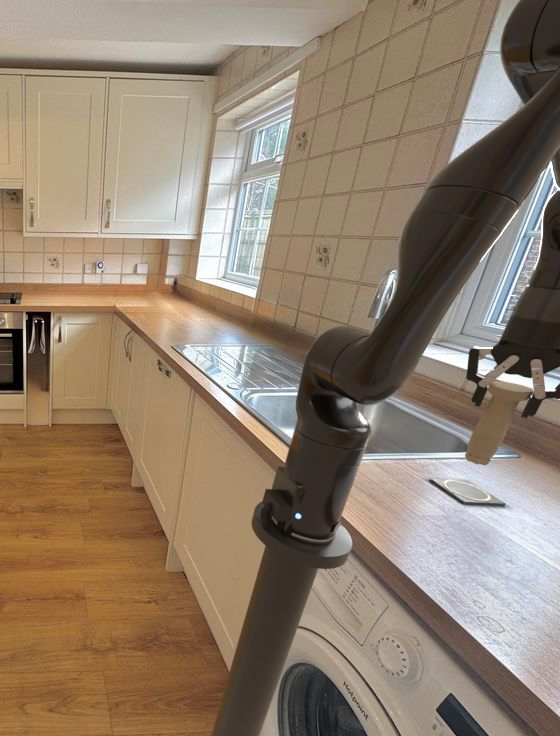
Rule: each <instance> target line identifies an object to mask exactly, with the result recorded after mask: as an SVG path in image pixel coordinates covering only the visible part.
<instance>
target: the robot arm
mask: <svg viewBox="0 0 560 736" xmlns="http://www.w3.org/2000/svg"><path fill="white" fill-rule="evenodd" d="M502 29H503V30H502V34H501V37H500V45H499V55H500V62H501V65H502V68H503V71H504V73H505V75H506V77H507V79H508V80H509V82H510V84H511V85H512V87H513V89H514V90H515V92H516V94H517V95H518V97H519V99H520V101H521V102H522V104H523V106H521V108H519V109H518V110H517V111H516V112H515V113H512V115H511V116H509V117H508V118H507V119H506V120H504V121H503V122H502V123H500V124H499V125H498V126H496V127H495V128H493V129H492V130H491V131H490V132H488V133H487V134H485V135H484V136H483V137H482V138H480V139H478V140H477V141H476V142H474V143H473V144H472V145H470V146H469V147H468V148H466V149H465V150H464V151H463V152H461V153H460V154H459V155H457V156H456V157H455V158H454V159H452V160H451V161H450V162H449V163H448V164H446V166H444V167H443V168H442V169H441V170H440V171H438V173H437V174H435V176H434V177H433V178H432V179H431V180H430V182H429V183H428V185H427V186H426V188H425V189H424V191H423V193H422V195H420V197H419V199H418V201H417V203H416V204H415V205H414V207H413V209H412V210H411V212H410V214H409V215H408V216H407V218H406V220H405V222H404V224H403V225H402V228H401V230H400V232H399V236H398V240H397V241H398V242H397V251H396V281H395V282H396V283H395V288H394V292H393V294H392V298H391V300H390V301H389V304H388V306H387V307H386V310H385V311H384V313H383V314H382V316H381V317H380V319H379V321H378V322H377V323H376V325H375V326H374V328H373V330H372V331H371V332H369V331H366V330H363V329H359V328H356V327H353V326H352V327H351V326H344V325H343V326H341V325H340V326H335V327H331V328H328V329H327V330H325V331H323V332H322V333H320V335H318V336H317V337H316V339H315V340H314V341H313V342H312V344H311V346H309V349H308V351H307V353H306V356H305V359H304V362H303V365H302V370H301V375H300V379H299V384H298V389H297V394H296V399H295V413H296V421H295V427H294V430H293V434H292V437H291V441H290V444H289V447H288V450H287V454H286V457H285V460H284V461H285V462H284V465H279V466H278V467H277V468H276V472H275V475H274V479H273V483H272V486H271V488H265V490H264V494H263V497H262V501H261V502H262V503H263V504H264V507H263V508H262V510H261V520H262V521H263V523H264V524H265V526H266V527H271V526H272V524H271V522H270V521H269V519H268V517H269V518H270V520H271V521H272V523H273V524H274V525H275V527H276V528H277V529H278V531H279V532H280V534H281V535H282V536H283V537H290V538H293V539H295V540H298V541H300V542H303V543H307V544H312V545H326V544H329V543H331V542H332V541H333V540H334V538H335V535H336V530H337V529H338V528H339V526H340V524H341V525H342V521H341V518H342V515H343V513H344V510H345V507H346V504H347V502H348V498H349V496H350V494H351V490H352V488H353V485H354V483H355V479H356V476H357V474H358V471H359V468H360V466H361V462H362V459H363V457H364V454H365V452H366V448H367V445H368V443H369V440H370V438H371V433H372V426H371V424H370V422H369V421H368V419H367V418H366V417H365V416H364V414H363V412H362V411H361V409H360V408H359V405H362V406H374V405H378V404H381V403H384V402H385V401H386V400H389V399H390V398H391V397H393V396H394V395H396V394H397V392H399V390H400V389H402V387H403V386H404V385H405V384H406V382H407V381H408V380H409V378H410V377H411V375H412V373H413V372H414V371H415V369H416V367H417V366H418V364H419V362H420V360H421V359H422V357H423V355H424V353H425V351H426V350H427V348H428V346H429V344H430V342H431V340H432V339H433V337H434V336H435V333H436V332H437V329H438V328H439V326H440V325H441V322H442V321H443V319H444V318H445V316H446V315H447V313H448V312H449V309H450V308H451V306H452V304H453V303H454V302H455V300H456V299H457V297H458V296H459V294H460V293H461V291H462V290H463V288H464V286H465V285H466V283H467V282H468V280H469V279H470V277H471V276H472V275H473V273H474V272H475V270H476V269H477V267H478V266H479V264H480V263H481V261H482V260H483V259H484V258H485V256H486V255H487V253H488V252H489V251H490V249H491V248H492V247H493V246H494V244H495V243H496V242H497V240H498V239H499V238H500V237H501V236H502V234H503V232H504V231H505V229H506V228H507V227H508V225H509V224H510V223H511V221H512V219H514V217H515V215H516V214H517V213H518V211H519V209H521V206H522V205H523V204H524V202H525V201H526V199H527V197H528V196H529V195H530V193H531V191H532V190H533V188H534V187H535V185H536V184H537V182H538V181H539V179H540V177H541V176H542V175H543V173H544V172H545V171H546V170H547V168H548V166H549V165H550V169H551V174H552V178H553V183H554V185H555V187H556V188H557V190H556V191H555V192H554V193H553V194H552V195H551V196H550V197H549V198H548V199H547V201H546V203H545V205H544V207H543V210H542V218H541V220H542V221H541V238H540V239H541V240H540V245H539V253H538V257H537V262H536V264H535V265H534V268H533V271H532V273H531V276H530V277H529V279H528V282H527V284H526V286H525V288H524V289H523V291H522V292H521V294H520V295H519V297H518V299H517V300H516V303H515V305H514V306H513V309H512V312H511V314H510V316H509V319H508V321H507V323H506V325H505V328H504V330H503V332H502V334H501V337H500V338H499V341H498V342H497V343H496V344H495V345H493V346H492V347H480V346H478V345H474V346H471V348H470V349H469V350H468V358H467V368H466V380H467V381H469V382H472V383H475V385H476V388H475V390H474V393H473V394H472V397H471V403H474V407H477V408H480V407H481V405H482V402H483V400H484V398H485V396H486V394H487V392H488V387H489V385H490V383H491V382H495V380H496V379H498V378H500V377H501V375H505V374H506V375H512V376H513V375H514V376H515V375H518V376H520V377H523V378H527V379H532V387H533V388H532V389H533V393H532V395H531V397H530V398H528V399H527V401H526V403H525V406H524V408H523V409H522V412H521V414H520V418H523V419H528V418H529V416H530V417H533V416H535V415H536V414H537V413H538V410H539V408H540V407H541V405H542V403H543V401H544V400H546V399H548V400H549V399H555V400H560V382H559V383H558V384H557V386H555V388H552V389H551V388H550V389H546V382H545V374H548V373H549V372H552V371H554V370H556V369H558V368H560V0H518V1H517V2H516V4H515V6H514V7H513V9H512V10H511V12H510V14H509V16H508V17H507V19H506V22H505V24H504V27H503V28H502ZM489 354H490V355H491V356H492V359H493V361H494V362H495V364H496V365H494V367H492V368H491V369H490V370H489V372H487V373H486V374H485V375H483V376H482V375H480V374H479V373H478V372H479V364H480V363H479V362H480V361H481V360H482V361H483V360H484V359H485V358H486V356H487V355H489ZM358 404H359V405H358ZM267 516H268V517H267Z"/></svg>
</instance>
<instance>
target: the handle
mask: <svg viewBox="0 0 560 736" xmlns="http://www.w3.org/2000/svg"><path fill="white" fill-rule="evenodd" d="M488 386H489V387H488V390H487V392H489V393H490V395H491V397H490V400H489V402H488V403H487V406H486V408H485V410H484V411H483V413H482V415H481V416H480V418H479V420H478V422H477V423H476V426H475V427H474V429H473V431H472V433H471V436H470V438H469V440H468V444H467V448H466V452H465V454H464V457H465V459H466V461H468V462H470V463H473V464H474V465H482V466H488V465H489V463H490V462H491V461H492V459H491V458H493V457H494V456H495V454H496V453H497V452H498V450H499V448H500V447H501V445H502V443H503V441H504V439H505V438H506V434H507V432H508V431H509V427H510V424H511V422H512V419H513V416H514V414H515V412H516V410H517V407H518V406H519V403H520V402H525V401H528V400H529V398H530V397H531V395H533V393H534V388H532V387H531V386H530V387H529V386H526V385H523V384H518V383H514V382H509V381H493V382H491V383H490V384H489V385H488Z"/></svg>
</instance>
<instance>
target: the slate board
mask: <svg viewBox="0 0 560 736" xmlns="http://www.w3.org/2000/svg"><path fill="white" fill-rule="evenodd" d="M429 482H431V483H432V484H433V485H435V486H436V487H438V488H440V489H441V490H442V491H444V492H445V493H446V494H448V495H450V496H451V497H453V499H456V500H457V501H459V502H460V503H461V504H463V505H475V506H479V505H480V506H498V507H499V506H501V507H506V503H505V502H504V501H502V500H501V499H500V498H498V497H495V496H494V495H492V494H491V493H490V492H488V491H486V490H484V489H483V488H482V487H480V486H478V485H476V484H475V483H473V482H472V481H470V480H469V479H451V478H429Z"/></svg>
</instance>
